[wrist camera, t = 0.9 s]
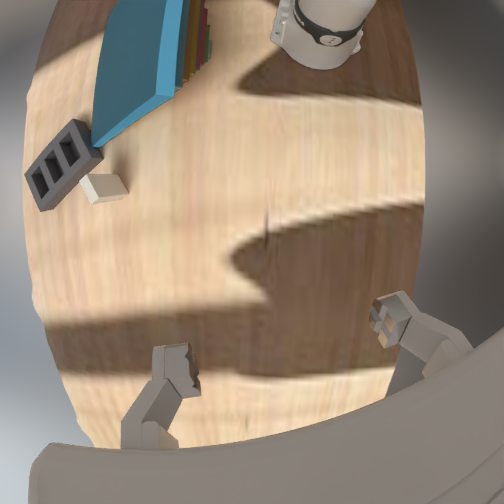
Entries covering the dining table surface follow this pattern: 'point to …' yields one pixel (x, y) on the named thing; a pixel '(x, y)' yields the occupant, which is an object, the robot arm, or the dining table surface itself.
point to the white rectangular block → (103, 188)
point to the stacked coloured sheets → (146, 60)
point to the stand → (62, 165)
